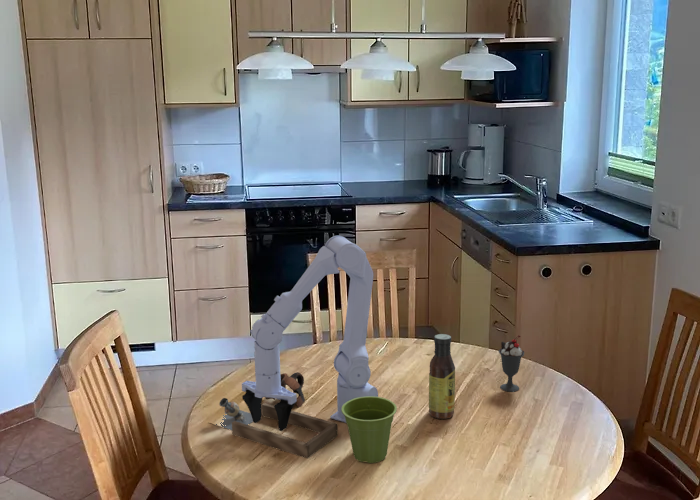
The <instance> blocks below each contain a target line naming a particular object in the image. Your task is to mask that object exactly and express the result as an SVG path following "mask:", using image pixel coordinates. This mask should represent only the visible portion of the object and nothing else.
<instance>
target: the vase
mask: <svg viewBox="0 0 700 500" xmlns="http://www.w3.org/2000/svg"><path fill="white" fill-rule="evenodd" d="M218 405H219V406H220V407H224V413H226V414H227V415H228V416H231V417H235V419H238V420H240V421H241V420H242V421H243V420H244V419H245V417H243V414H242V411H243V410H241V409H240V407H239V404H237V402H235V401H229V399H228V398H226V397H222V398H221V400H220V401H219V403H218ZM240 410H241V411H240ZM245 421H246V419H245Z"/></svg>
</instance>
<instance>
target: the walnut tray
mask: <svg viewBox="0 0 700 500" xmlns="http://www.w3.org/2000/svg"><path fill="white" fill-rule="evenodd" d="M264 416H265V418H268V419H271V420H275V421H278V416H277V412H276V410H275V407H274V404H268V403H266V402H264V403H262V417H264ZM288 424H289V425H293V426H295V427H298V428H302V429H306V430H309V431H312V432H315V433H318V434H316V435H315V436H313V437H312V438H311V439H310V440H308V441H306V442H304V441H301V440H298V439H295V438H291V437H288V436H284V435H282V434H279V433H275V432H272V431H268V430H266V429H263V428H259V427H257V426H256V427H255V426H252V425H250V424H249V425H246V424H243V423H240V422H237V421H234V422H232V430H231V432H232V433H231V434H233V435H232V436H235V435H236V437H239V438H242V439H246V440H249V441H251V442H254V441H255V442H254V443H257V442H258V444H260V445H263V444H264V446H266V447H270V448H273V447H274V448H273V449H276V448H277V449H276V450H279V449H280V450H281V451H282V450H283V451H282V452H285V451H286V452H287V453H288V452H289V454H291V455H296V456H298V457H302V458H304V459H309V458H310V457H312V456H313V455H314V454H316V453H317V452H318V451H319V450H320V449H322V448H323V447H325V446H326V445H327V444H329V443H330V442H331V441H333V440H334V439H335V438H336V437H338V435H339V434H338V431H339V429H338V427H339V425H338V423H337V422H333V421H329V420H326V419H322V418H319V417H315V416H311V415H308V414H304V413H302V412H297V411H294V410H292V411H291V413H290V416H289V420H288ZM288 424H287V425H288Z"/></svg>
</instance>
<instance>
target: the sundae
mask: <svg viewBox="0 0 700 500" xmlns="http://www.w3.org/2000/svg"><path fill="white" fill-rule="evenodd" d="M519 338H521V335H519V334H518V335H517V337H516V338H514V339H512V340H510V341H508V342H504V341H501V342H500V345H501V346H500V348H499V349H498V350H497V351H498V353H499V355H500V357H501V359H500V360H501V368H502V371H503V373H504V374H505V375H506V376H507V382H506V383H502V384H501V385H500V387H499V388H500V390H502V391H504V392H509V393H515V392H518V391H520V386H518V385H517V384H514V383H513V382H514V381H513V377H514V376H516V375H517V374H518V372H519V370H520V365H521V360H522V357H524V356H525V351H524V350H522V348H521V347H520V346H519V345H520V344H519V343H518V340H519Z"/></svg>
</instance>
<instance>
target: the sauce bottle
mask: <svg viewBox="0 0 700 500" xmlns="http://www.w3.org/2000/svg"><path fill="white" fill-rule="evenodd" d="M433 337H434V338H433V342H434V351H433V352H434V355H433V357H432V358H431V359H430V362H429V373H428V412H429V416H431V417H432V418H434V419H438V420H439V419H440V420H446V419H450V418H452V417H453V416H454V414H455V408H456V407H455V402H456V401H455V400H456V366H455V364H454V361H453V357H452V354H451V353H452V352H451V343H452V336H451V335H449V334H445V333H439V334H435V335H434V336H433Z"/></svg>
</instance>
